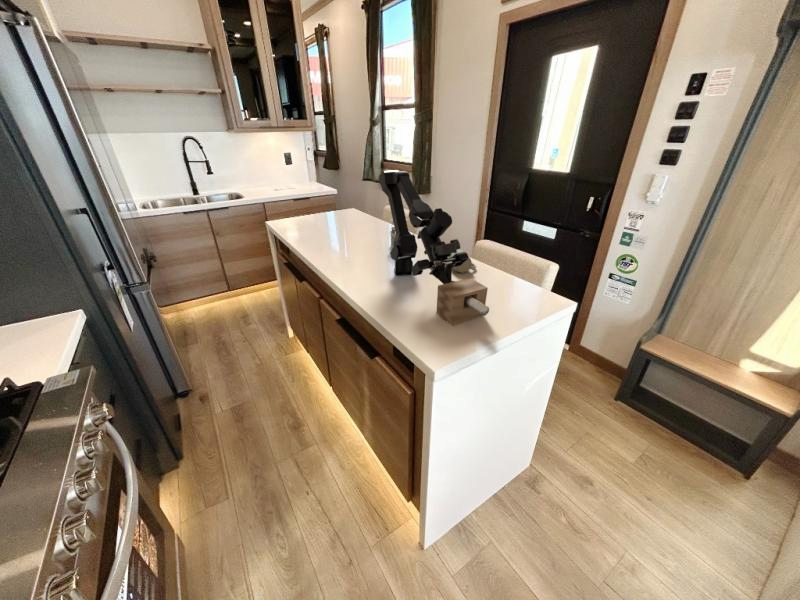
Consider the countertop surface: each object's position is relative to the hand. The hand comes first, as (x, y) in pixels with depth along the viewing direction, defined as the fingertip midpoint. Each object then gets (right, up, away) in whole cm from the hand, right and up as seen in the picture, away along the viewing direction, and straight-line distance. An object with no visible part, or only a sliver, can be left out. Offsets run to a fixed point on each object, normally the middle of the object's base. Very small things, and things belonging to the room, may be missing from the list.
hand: (450, 287), depth 100 cm
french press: (-16, +21, +54) cm, 60 cm away
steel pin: (+4, -6, -5) cm, 9 cm away
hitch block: (+3, -8, -1) cm, 9 cm away
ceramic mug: (+10, +8, +31) cm, 33 cm away
